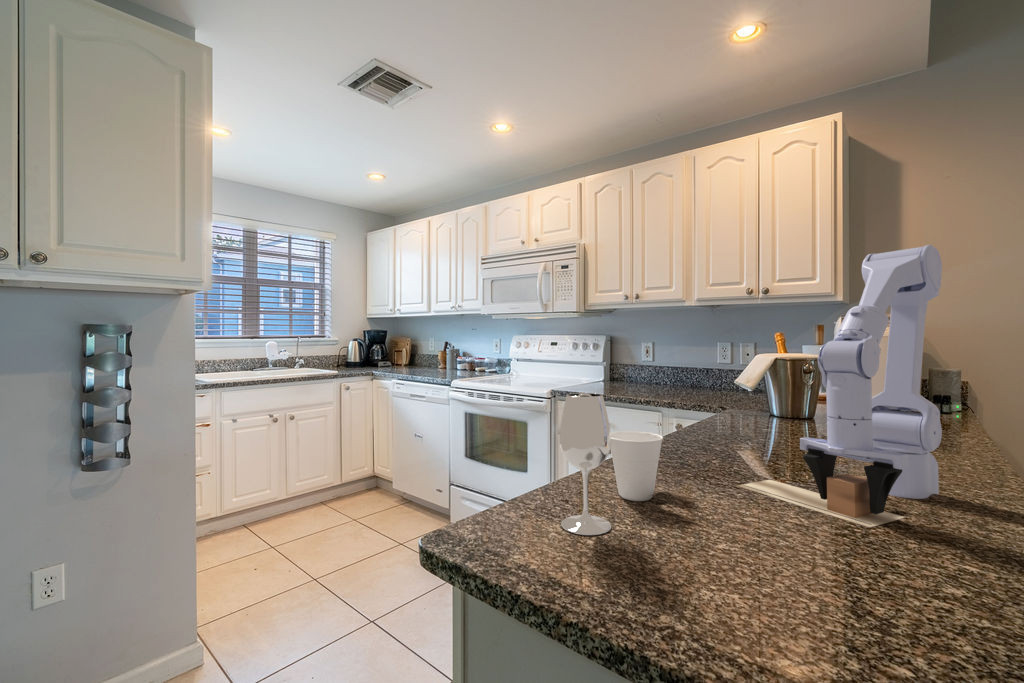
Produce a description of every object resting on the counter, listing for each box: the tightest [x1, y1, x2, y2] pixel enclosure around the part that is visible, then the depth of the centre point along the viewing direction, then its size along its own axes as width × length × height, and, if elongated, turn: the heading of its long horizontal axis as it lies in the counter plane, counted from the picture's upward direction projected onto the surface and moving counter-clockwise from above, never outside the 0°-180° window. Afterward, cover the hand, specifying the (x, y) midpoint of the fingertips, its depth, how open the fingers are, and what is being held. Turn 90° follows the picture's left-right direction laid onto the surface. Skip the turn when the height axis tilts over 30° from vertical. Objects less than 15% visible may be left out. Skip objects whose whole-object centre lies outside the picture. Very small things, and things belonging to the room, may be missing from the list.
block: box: [827, 473, 872, 518], centre depth 73 cm, size 10×4×5 cm, turn 114°
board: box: [736, 479, 906, 528], centre depth 77 cm, size 9×22×2 cm, turn 24°
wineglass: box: [559, 392, 612, 536], centre depth 71 cm, size 8×8×20 cm
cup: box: [610, 430, 664, 502], centre depth 85 cm, size 10×10×11 cm
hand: (850, 505), depth 72 cm, fingers open, 7 cm apart
